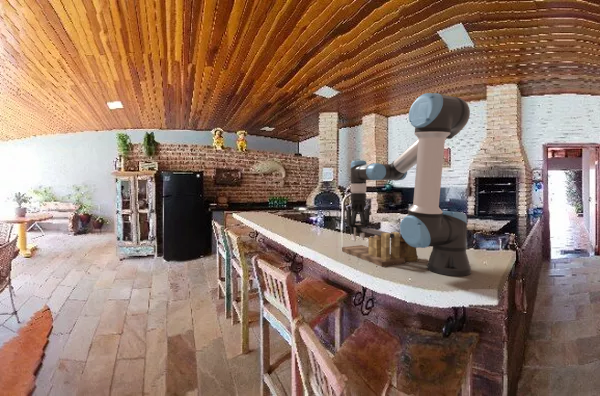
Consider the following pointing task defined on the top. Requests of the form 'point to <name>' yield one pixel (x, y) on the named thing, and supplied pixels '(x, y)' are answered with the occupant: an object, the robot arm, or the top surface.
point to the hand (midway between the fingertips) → (357, 240)
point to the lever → (369, 230)
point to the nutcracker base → (379, 250)
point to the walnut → (377, 237)
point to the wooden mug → (407, 251)
